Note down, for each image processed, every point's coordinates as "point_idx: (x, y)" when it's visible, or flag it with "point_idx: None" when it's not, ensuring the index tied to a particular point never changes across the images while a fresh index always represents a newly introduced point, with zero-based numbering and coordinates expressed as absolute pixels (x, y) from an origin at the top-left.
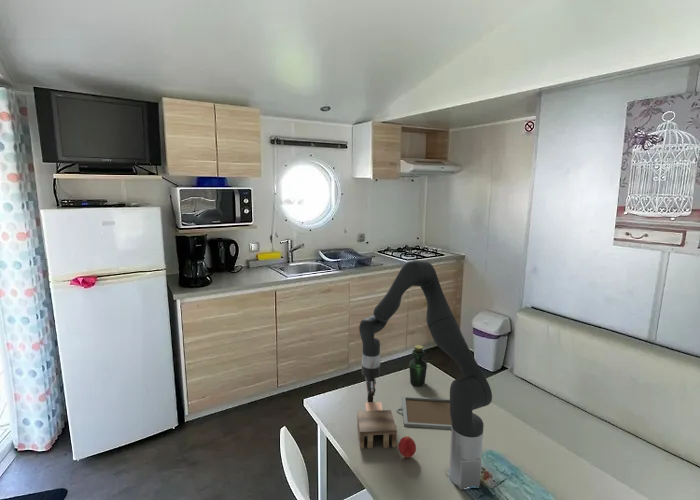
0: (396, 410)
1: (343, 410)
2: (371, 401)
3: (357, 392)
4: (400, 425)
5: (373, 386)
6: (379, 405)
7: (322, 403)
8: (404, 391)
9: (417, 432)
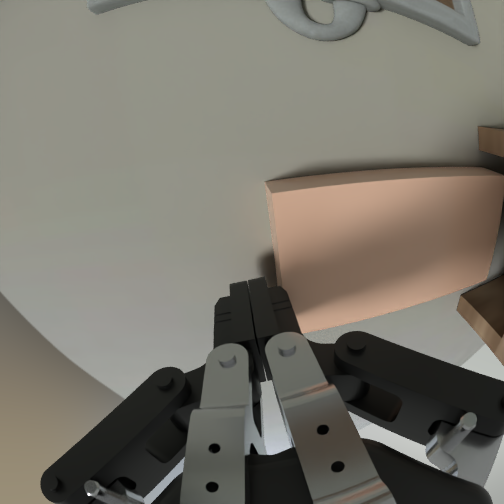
0: (328, 38)
1: None
2: (286, 297)
3: (116, 365)
4: (470, 64)
5: (413, 459)
6: (342, 210)
7: (268, 448)
8: (13, 36)
9: (486, 6)
